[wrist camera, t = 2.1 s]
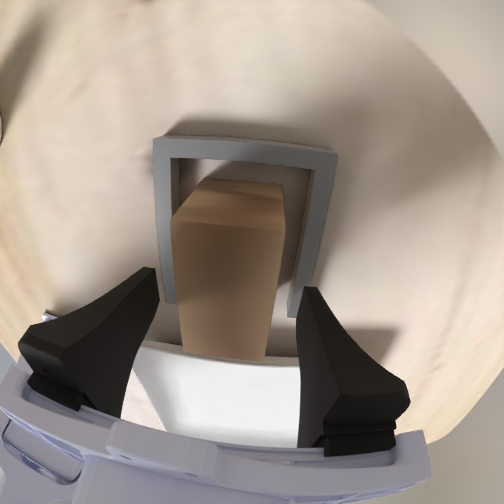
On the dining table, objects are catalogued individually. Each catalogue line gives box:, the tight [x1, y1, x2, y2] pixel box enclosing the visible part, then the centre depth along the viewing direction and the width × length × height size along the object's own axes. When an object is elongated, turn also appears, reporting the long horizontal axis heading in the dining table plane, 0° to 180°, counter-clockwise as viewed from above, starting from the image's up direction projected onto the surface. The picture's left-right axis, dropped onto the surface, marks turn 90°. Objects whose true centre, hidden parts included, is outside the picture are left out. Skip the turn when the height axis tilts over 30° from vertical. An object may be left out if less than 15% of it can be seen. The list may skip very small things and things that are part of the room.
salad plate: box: [132, 341, 301, 448], centre depth 26 cm, size 21×21×3 cm
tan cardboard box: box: [170, 178, 286, 362], centre depth 15 cm, size 4×8×6 cm, turn 175°
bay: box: [153, 135, 338, 318], centre depth 16 cm, size 10×11×2 cm
